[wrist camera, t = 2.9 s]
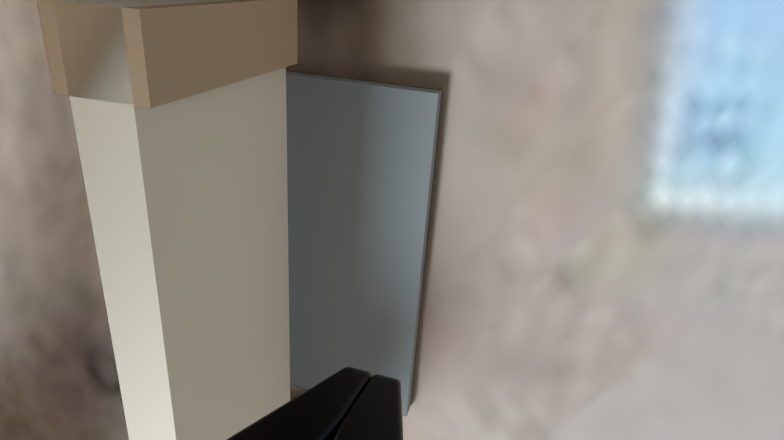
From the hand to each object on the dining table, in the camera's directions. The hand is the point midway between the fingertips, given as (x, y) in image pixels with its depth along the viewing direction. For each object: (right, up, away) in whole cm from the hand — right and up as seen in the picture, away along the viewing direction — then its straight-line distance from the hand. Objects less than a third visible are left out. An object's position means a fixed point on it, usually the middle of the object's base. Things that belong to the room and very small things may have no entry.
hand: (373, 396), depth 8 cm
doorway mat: (-4, +2, +9) cm, 10 cm away
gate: (-3, +1, +7) cm, 8 cm away
